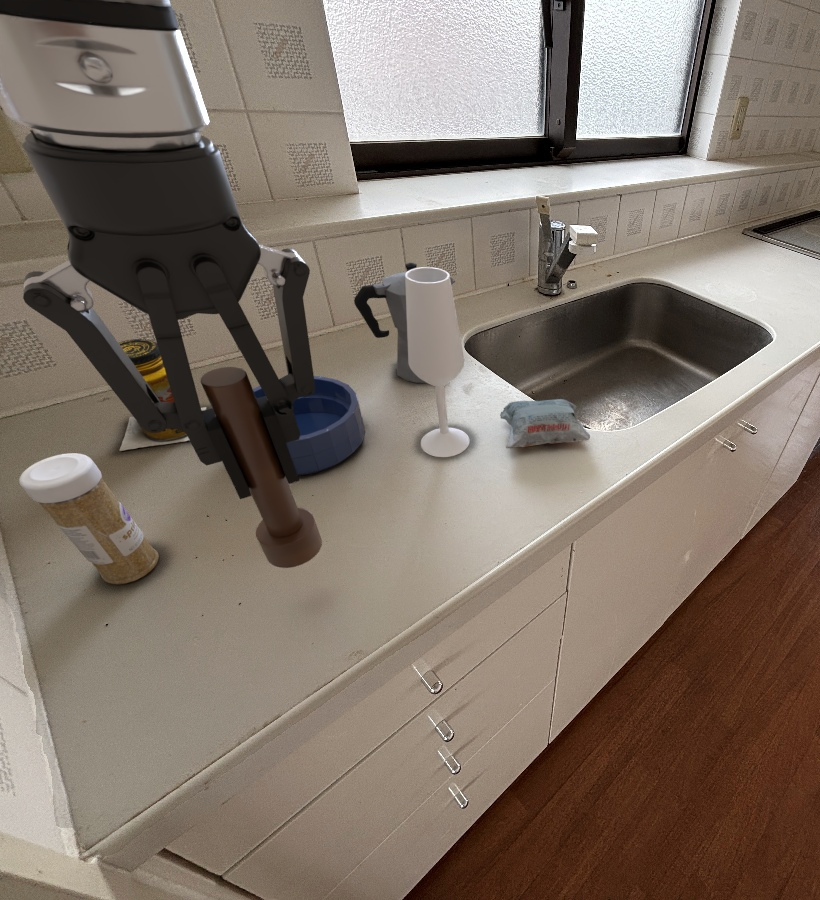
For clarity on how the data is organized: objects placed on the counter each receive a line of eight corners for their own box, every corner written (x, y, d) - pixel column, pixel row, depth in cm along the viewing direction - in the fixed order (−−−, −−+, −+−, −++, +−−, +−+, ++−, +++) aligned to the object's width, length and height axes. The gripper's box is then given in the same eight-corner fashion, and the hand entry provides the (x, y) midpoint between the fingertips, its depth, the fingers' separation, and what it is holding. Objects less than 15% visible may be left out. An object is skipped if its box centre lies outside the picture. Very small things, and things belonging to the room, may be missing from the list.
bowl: (223, 480, 60) (204, 442, 56) (266, 410, 71) (253, 374, 67) (352, 478, 63) (342, 441, 59) (375, 411, 74) (367, 376, 70)
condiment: (202, 439, 65) (161, 358, 58) (119, 452, 62) (65, 368, 54) (207, 408, 70) (170, 330, 62) (130, 419, 67) (82, 337, 59)
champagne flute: (439, 422, 74) (420, 259, 58) (478, 436, 72) (470, 273, 57) (410, 447, 69) (381, 276, 53) (452, 463, 67) (435, 292, 52)
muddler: (258, 569, 42) (169, 394, 31) (276, 530, 46) (201, 358, 34) (314, 567, 43) (247, 395, 32) (327, 528, 47) (271, 361, 35)
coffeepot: (448, 348, 90) (439, 247, 79) (473, 372, 85) (467, 268, 74) (361, 369, 82) (336, 259, 71) (382, 397, 77) (360, 284, 65)
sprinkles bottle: (168, 565, 51) (100, 467, 42) (113, 594, 48) (27, 495, 39) (148, 542, 52) (78, 444, 44) (94, 569, 49) (7, 469, 41)
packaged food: (588, 451, 72) (591, 424, 69) (506, 458, 69) (505, 430, 66) (574, 417, 79) (577, 390, 76) (499, 422, 75) (498, 394, 72)
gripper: (-149, 146, 18) (145, 554, 33) (317, 150, 27) (384, 472, 41) (-112, 110, 22) (134, 486, 37) (281, 123, 31) (353, 425, 46)
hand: (266, 479), depth 39 cm, fingers closed on muddler, 3 cm apart
